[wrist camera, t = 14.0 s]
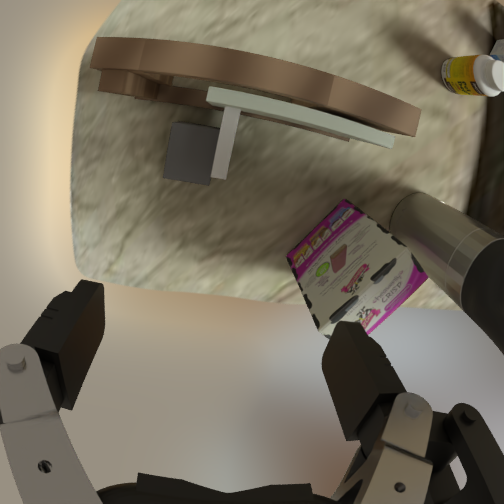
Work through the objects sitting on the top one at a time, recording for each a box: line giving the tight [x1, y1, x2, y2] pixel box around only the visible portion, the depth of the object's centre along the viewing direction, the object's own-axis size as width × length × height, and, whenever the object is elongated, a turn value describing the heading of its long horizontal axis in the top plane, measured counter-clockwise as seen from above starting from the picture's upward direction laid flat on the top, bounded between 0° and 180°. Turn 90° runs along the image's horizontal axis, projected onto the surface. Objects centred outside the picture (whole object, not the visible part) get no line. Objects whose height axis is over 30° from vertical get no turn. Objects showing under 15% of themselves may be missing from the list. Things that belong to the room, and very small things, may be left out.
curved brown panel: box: [90, 37, 421, 142], centre depth 28 cm, size 26×4×15 cm, turn 78°
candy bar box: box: [286, 199, 429, 339], centre depth 35 cm, size 11×5×16 cm, turn 137°
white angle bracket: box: [206, 86, 395, 180], centre depth 31 cm, size 16×8×12 cm, turn 78°
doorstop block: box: [163, 121, 220, 186], centre depth 34 cm, size 5×6×5 cm
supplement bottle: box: [441, 55, 504, 96], centre depth 29 cm, size 6×6×10 cm
